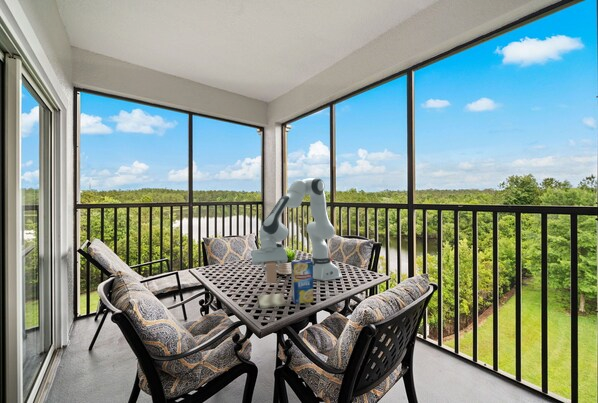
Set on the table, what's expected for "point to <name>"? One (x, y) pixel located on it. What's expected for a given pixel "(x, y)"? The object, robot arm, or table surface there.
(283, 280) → the table surface
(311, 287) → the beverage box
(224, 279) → the table surface
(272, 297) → the placemat
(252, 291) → the table surface
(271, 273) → the terracotta block
